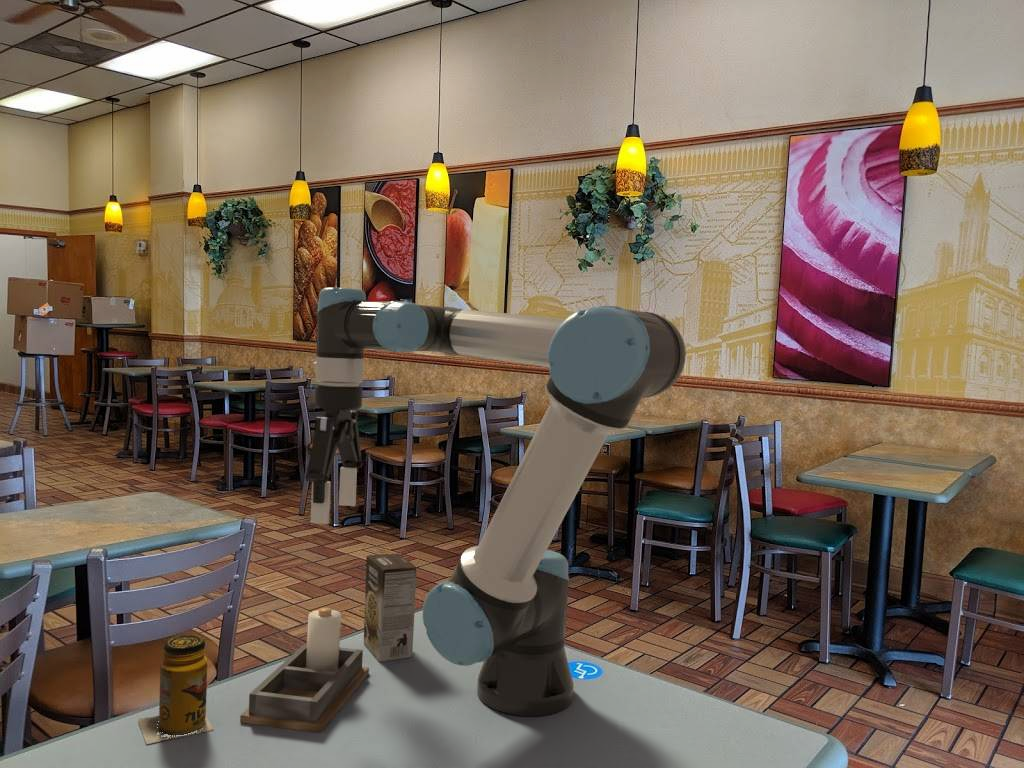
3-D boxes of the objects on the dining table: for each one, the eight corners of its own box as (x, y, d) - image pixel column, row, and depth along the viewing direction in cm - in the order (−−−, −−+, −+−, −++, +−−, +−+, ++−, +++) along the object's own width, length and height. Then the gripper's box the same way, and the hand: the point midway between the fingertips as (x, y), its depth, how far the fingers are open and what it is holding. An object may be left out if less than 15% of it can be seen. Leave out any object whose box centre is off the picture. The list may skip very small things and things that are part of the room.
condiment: (213, 730, 108) (216, 645, 107) (146, 745, 103) (148, 656, 103) (201, 708, 114) (204, 627, 113) (137, 721, 109) (139, 637, 109)
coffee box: (361, 643, 141) (365, 554, 140) (395, 638, 144) (399, 551, 143) (378, 662, 133) (381, 569, 132) (413, 657, 136) (417, 565, 135)
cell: (342, 672, 126) (345, 606, 126) (330, 685, 121) (334, 616, 121) (312, 668, 127) (316, 603, 126) (300, 681, 122) (303, 613, 121)
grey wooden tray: (368, 673, 129) (369, 649, 128) (321, 732, 109) (322, 704, 109) (299, 665, 130) (300, 641, 130) (240, 722, 111) (241, 694, 110)
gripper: (341, 379, 140) (336, 497, 141) (286, 386, 115) (281, 529, 116) (382, 381, 139) (377, 500, 140) (336, 389, 114) (331, 533, 115)
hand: (334, 514), depth 128 cm, fingers open, 13 cm apart
